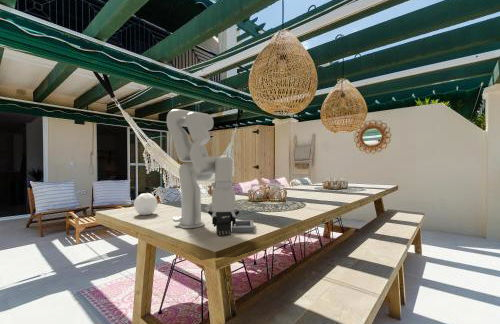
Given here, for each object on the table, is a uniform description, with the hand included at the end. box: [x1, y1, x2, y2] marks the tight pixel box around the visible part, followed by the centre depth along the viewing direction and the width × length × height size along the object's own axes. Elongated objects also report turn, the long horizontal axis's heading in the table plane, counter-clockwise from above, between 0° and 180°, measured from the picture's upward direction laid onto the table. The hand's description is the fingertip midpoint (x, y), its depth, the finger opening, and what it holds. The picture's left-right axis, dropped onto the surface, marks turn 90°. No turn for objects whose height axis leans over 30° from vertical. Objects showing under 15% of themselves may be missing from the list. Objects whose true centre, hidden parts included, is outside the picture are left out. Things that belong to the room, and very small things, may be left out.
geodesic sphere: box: [133, 192, 158, 216], centre depth 158 cm, size 14×14×14 cm
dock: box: [231, 219, 255, 234], centre depth 124 cm, size 10×13×2 cm
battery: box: [215, 212, 233, 237], centre depth 113 cm, size 7×4×11 cm, turn 115°
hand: (224, 225), depth 113 cm, fingers closed on battery, 7 cm apart
